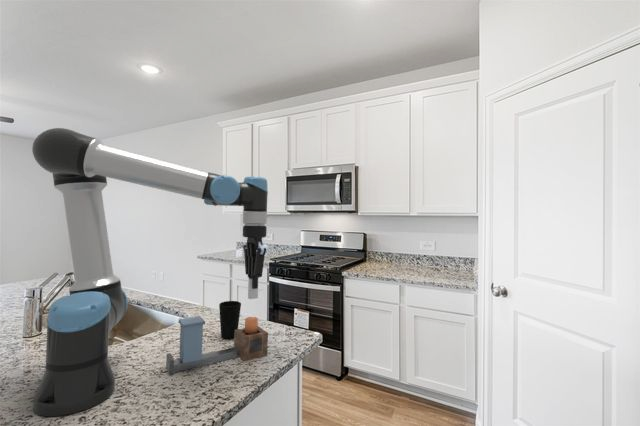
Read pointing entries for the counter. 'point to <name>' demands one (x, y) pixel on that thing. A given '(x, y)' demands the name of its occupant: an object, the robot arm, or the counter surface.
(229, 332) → the cup
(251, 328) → the button
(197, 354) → the carriage
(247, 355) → the brown wooden box
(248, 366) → the counter surface
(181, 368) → the rail
